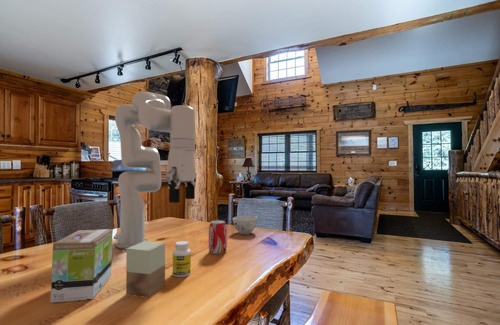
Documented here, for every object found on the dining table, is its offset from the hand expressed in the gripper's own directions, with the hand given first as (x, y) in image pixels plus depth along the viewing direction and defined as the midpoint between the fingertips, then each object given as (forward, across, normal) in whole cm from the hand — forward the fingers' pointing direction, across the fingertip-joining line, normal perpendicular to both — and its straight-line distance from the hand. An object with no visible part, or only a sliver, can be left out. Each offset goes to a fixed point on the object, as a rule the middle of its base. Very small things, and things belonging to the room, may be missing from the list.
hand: (182, 200), depth 83 cm
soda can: (+23, -23, +3) cm, 33 cm away
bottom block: (+23, +12, -4) cm, 26 cm away
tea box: (+23, +15, -21) cm, 35 cm away
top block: (+17, +12, -4) cm, 21 cm away
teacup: (+23, -54, +6) cm, 59 cm away
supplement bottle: (+23, 0, 0) cm, 23 cm away
